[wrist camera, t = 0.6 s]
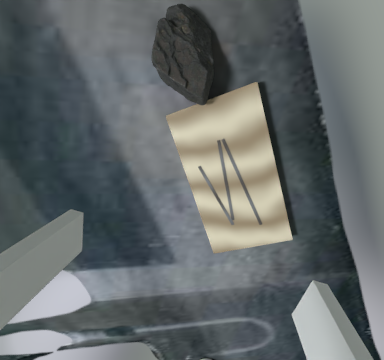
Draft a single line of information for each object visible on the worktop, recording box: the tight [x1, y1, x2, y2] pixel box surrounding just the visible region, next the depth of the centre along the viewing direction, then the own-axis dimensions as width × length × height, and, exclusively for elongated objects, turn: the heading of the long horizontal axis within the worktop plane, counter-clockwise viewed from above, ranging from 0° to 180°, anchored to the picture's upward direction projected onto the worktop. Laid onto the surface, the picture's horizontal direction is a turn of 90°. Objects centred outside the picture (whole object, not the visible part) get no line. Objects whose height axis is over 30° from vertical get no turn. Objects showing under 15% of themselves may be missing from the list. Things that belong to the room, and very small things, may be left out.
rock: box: [152, 4, 214, 105], centre depth 27 cm, size 10×6×10 cm
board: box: [166, 82, 293, 253], centre depth 32 cm, size 26×14×2 cm, turn 19°
